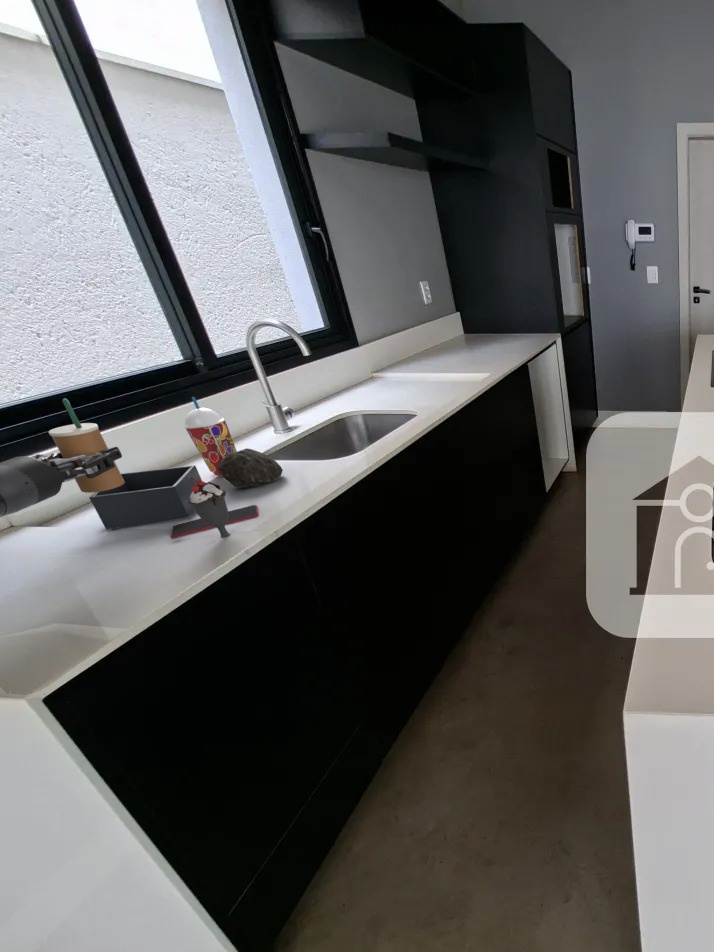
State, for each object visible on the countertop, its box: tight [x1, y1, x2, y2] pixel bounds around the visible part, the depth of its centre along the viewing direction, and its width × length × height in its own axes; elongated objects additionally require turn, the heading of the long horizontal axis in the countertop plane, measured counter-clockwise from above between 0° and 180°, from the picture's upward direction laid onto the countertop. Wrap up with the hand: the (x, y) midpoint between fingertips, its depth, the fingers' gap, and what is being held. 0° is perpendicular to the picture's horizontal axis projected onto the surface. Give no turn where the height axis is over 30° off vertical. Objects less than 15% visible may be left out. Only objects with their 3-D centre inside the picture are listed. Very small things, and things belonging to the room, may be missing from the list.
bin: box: [88, 464, 203, 530], centre depth 126 cm, size 14×14×8 cm
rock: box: [218, 447, 284, 489], centre depth 140 cm, size 10×11×10 cm
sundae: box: [185, 477, 231, 539], centre depth 112 cm, size 7×7×15 cm
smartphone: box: [170, 504, 259, 539], centre depth 122 cm, size 7×1×15 cm
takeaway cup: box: [48, 398, 125, 494], centre depth 102 cm, size 6×6×17 cm
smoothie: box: [183, 396, 238, 477], centre depth 144 cm, size 8×8×20 cm
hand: (99, 451), depth 105 cm, fingers closed on takeaway cup, 6 cm apart
